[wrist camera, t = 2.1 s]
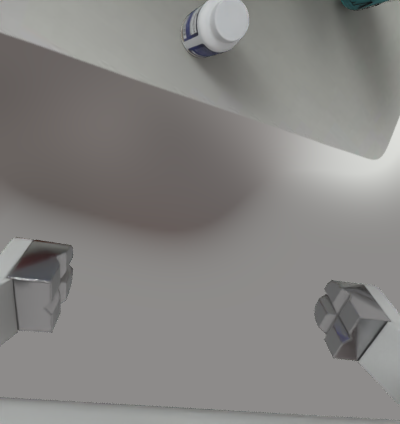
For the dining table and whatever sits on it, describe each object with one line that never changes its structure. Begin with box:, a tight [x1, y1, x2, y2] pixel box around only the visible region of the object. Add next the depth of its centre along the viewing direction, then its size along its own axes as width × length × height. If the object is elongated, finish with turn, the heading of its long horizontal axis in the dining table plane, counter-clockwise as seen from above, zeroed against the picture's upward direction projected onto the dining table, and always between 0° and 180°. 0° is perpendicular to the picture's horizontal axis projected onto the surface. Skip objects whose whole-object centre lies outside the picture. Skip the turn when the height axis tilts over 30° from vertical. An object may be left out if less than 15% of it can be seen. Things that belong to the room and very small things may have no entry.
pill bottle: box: [181, 0, 249, 58], centre depth 36 cm, size 5×5×10 cm
